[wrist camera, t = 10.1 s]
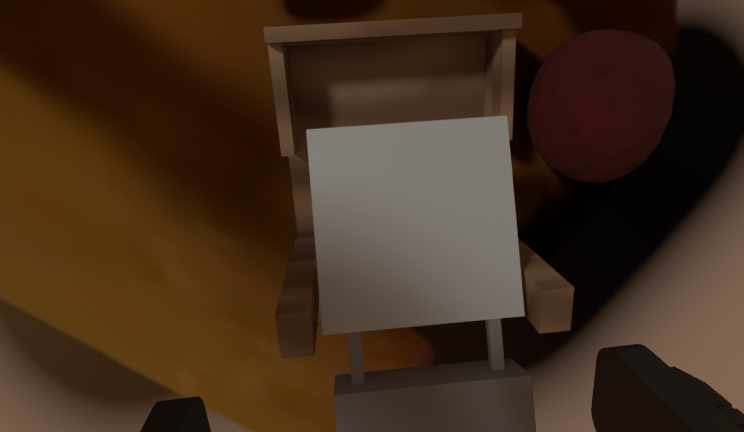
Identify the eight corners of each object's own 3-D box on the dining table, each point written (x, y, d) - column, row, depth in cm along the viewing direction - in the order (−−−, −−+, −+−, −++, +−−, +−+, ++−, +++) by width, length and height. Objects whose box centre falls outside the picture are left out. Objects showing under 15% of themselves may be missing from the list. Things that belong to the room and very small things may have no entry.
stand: (274, 35, 35) (229, 4, 20) (495, 22, 36) (601, -16, 21) (308, 319, 43) (293, 443, 28) (488, 303, 44) (562, 414, 29)
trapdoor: (309, 136, 30) (303, 124, 26) (496, 123, 30) (515, 109, 27) (332, 428, 29) (330, 455, 26) (521, 408, 30) (544, 432, 26)
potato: (557, 8, 36) (620, -13, 28) (658, 75, 38) (742, 75, 30) (483, 132, 38) (521, 146, 31) (581, 188, 41) (640, 215, 33)
